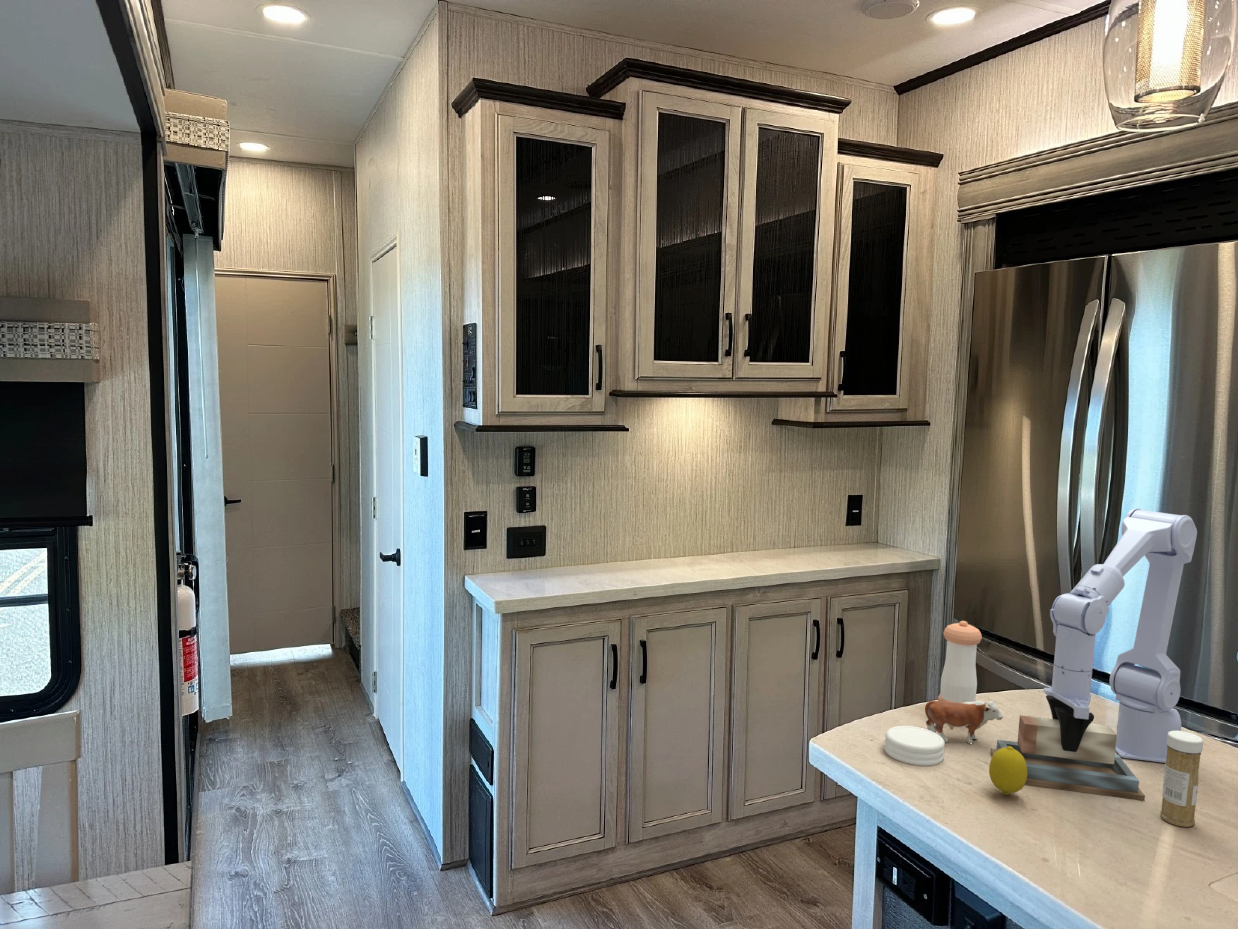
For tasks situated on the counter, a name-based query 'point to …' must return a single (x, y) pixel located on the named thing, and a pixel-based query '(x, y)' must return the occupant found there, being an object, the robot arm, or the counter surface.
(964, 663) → the pepper shaker
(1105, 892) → the counter surface
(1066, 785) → the tray
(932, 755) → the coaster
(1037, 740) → the two-tone wooden block
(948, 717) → the bull figurine
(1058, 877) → the counter surface
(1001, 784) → the lemon
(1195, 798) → the spice jar
